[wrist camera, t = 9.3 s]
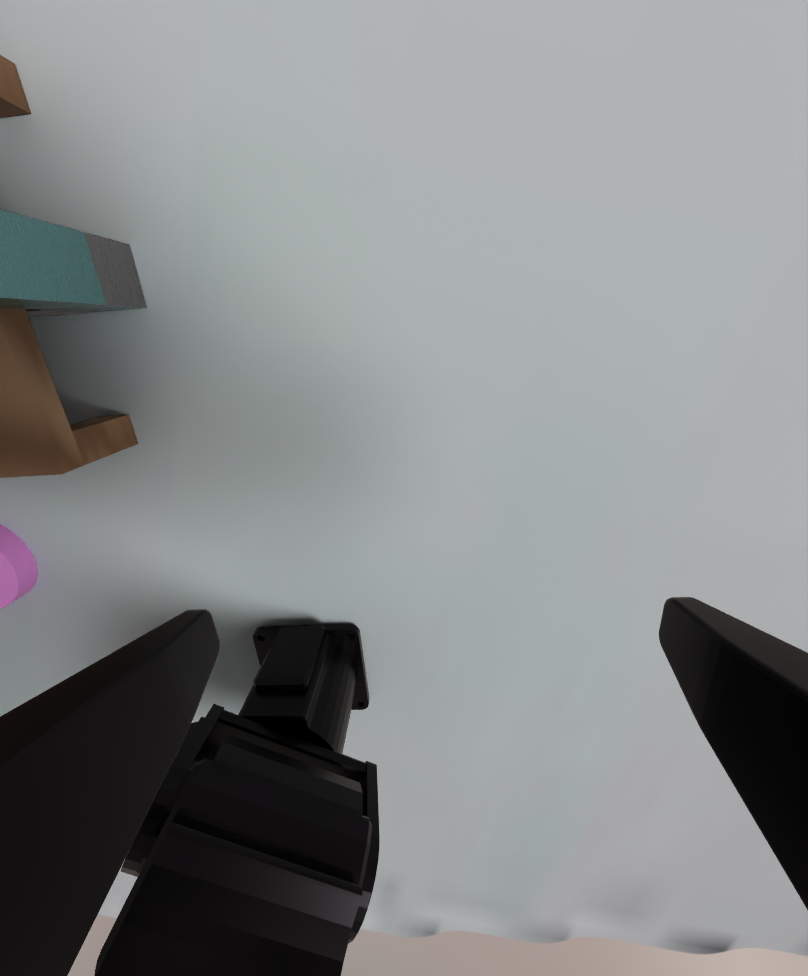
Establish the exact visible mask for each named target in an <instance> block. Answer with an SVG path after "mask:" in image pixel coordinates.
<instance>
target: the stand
mask: <svg viewBox="0 0 808 976" xmlns="http://www.w3.org/2000/svg"><path fill="white" fill-rule="evenodd" d="M25 114H31V112H30V109H29V106H28V103H27V100H26V97H25V94H24V91H23V88H22V85H21V82H20V78H19V75H18V72H17V69H16V66H15V64H14V63H12V62H11V61H9V60H8V59H6V58H4V57H3V56H1V55H0V118H2V117H10V116H17V115H25ZM136 444H138V442H137V439H136V436H135V433H134V430H133V427H132V424H131V421H130V417H129V415H118V416H103V417H98V418H94V419H90V420H87V421H83V422H79V423H76V424H72V425H69V423H68V420H67V417H66V415H65V412H64V409H63V407H62V404H61V402H60V399H59V396H58V394H57V391H56V388H55V386H54V383H53V381H52V378H51V375H50V373H49V370H48V368H47V365H46V362H45V360H44V357H43V354H42V352H41V349H40V347H39V344H38V341H37V339H36V336H35V333H34V331H33V328H32V326H31V323H30V320H29V318H28V315H27V312H26V310H25V309H20V308H0V478H1V477H19V476H38V475H56V474H63V473H66V472H68V471H71V470H73V469H76V468H78V467H81V466H83V465H86V464H88V463H91V462H93V461H96V460H98V459H101V458H103V457H106V456H108V455H111V454H113V453H116V452H118V451H121V450H123V449H126V448H128V447H131V446H133V445H136Z"/></svg>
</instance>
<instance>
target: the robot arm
mask: <svg viewBox="0 0 808 976" xmlns="http://www.w3.org/2000/svg"><path fill="white" fill-rule="evenodd" d="M349 633H353V634H354V635H350V634H349ZM261 635H263V636H261ZM659 639H660V643H661V646H662V648H663V651H664V653H665V655H666V657H667V659H668V661H669V663H670V665H671V668H672V670H673V672H674V674H675V676H676V678H677V680H678V683H679V685H680V687H681V689H682V691H683V693H684V695H685V698H686V700H687V702H688V704H689V706H690V708H691V710H692V712H693V714H694V716H695V718H696V720H697V722H698V724H699V726H700V728H701V730H702V732H703V733H704V735H705V737H706V739H707V740H708V742H709V744H710V746H711V747H712V749H713V751H714V752H715V754H716V756H717V757H718V759H719V761H720V762H721V764H722V766H723V768H724V769H725V771H726V773H727V774H728V776H729V778H730V779H731V781H732V783H733V784H734V786H735V788H736V790H737V791H738V793H739V795H740V796H741V798H742V800H743V801H744V803H745V805H746V806H747V808H748V810H749V812H750V813H751V815H752V817H753V818H754V820H755V822H756V823H757V825H758V827H759V828H760V830H761V832H762V834H763V835H764V837H765V839H766V840H767V842H768V844H769V845H770V847H771V849H772V850H773V852H774V854H775V855H776V857H777V859H778V861H779V862H780V864H781V866H782V867H783V869H784V871H785V872H786V874H787V876H788V877H789V879H790V881H791V883H792V884H793V886H794V888H795V889H796V891H797V893H798V894H799V896H800V898H801V899H802V901H803V903H804V905H805V906H806V908H807V910H808V653H807V652H805V651H803V650H801V649H799V648H797V647H794V646H792V645H790V644H788V643H786V642H784V641H782V640H780V639H778V638H776V637H774V636H772V635H770V634H767V633H765V632H763V631H761V630H759V629H757V628H755V627H753V626H751V625H749V624H747V623H745V622H743V621H741V620H738V619H736V618H734V617H732V616H730V615H728V614H726V613H724V612H722V611H720V610H718V609H716V608H714V607H711V606H709V605H707V604H705V603H703V602H701V601H699V600H697V599H695V598H692V597H672V598H669V599H667V600H666V602H665V604H664V609H663V614H662V619H661V624H660V629H659ZM253 640H254V644H255V647H256V651H257V655H258V659H259V662H260V666H261V667H260V669H259V671H258V673H257V675H256V677H255V679H254V684H253V686H252V688H251V690H250V692H249V694H248V696H247V698H246V700H245V702H244V705H243V707H242V709H241V711H240V713H239V715H236V714H234V713H231V712H228V711H225V710H224V707H221V706H218V705H216V704H214V705H213V706H212V708H211V709H210V711H209V712H208V714H207V716H206V717H205V718H204V717H201V718H200V720H199V721H198V722H195V723H191V722H192V720H193V718H194V715H195V713H196V710H197V708H198V705H199V702H200V700H201V697H202V695H203V692H204V689H205V687H206V684H207V681H208V679H209V676H210V674H211V671H212V668H213V666H214V663H215V661H216V658H217V655H218V652H219V646H220V644H219V638H218V635H217V631H216V628H215V625H214V622H213V618H212V615H211V613H210V612H209V611H208V610H187V611H185V612H183V613H181V614H180V615H178V616H176V617H174V618H173V619H171V620H169V621H167V622H166V623H164V624H162V625H160V626H159V627H157V628H155V629H153V630H152V631H150V632H148V633H146V634H145V635H143V636H141V637H139V638H138V639H136V640H134V641H132V642H131V643H129V644H127V645H125V646H124V647H122V648H120V649H118V650H117V651H115V652H113V653H111V654H109V655H108V656H106V657H104V658H102V659H101V660H99V661H97V662H95V663H94V664H92V665H90V666H88V667H87V668H85V669H83V670H81V671H80V672H78V673H76V674H74V675H73V676H71V677H69V678H67V679H66V680H64V681H62V682H60V683H59V684H57V685H55V686H53V687H52V688H50V689H48V690H46V691H45V692H43V693H41V694H39V695H38V696H36V697H34V698H32V699H31V700H29V701H27V702H25V703H24V704H22V705H20V706H18V707H17V708H15V709H13V710H11V711H10V712H8V713H6V714H4V715H2V716H1V717H0V976H67V975H68V973H69V971H70V969H71V967H72V965H73V963H74V961H75V959H76V957H77V955H78V953H79V951H80V949H81V947H82V944H83V943H84V940H85V939H86V936H87V935H88V932H89V930H90V928H91V926H92V924H93V922H94V920H95V918H96V916H97V914H98V912H99V910H100V908H101V906H102V904H103V902H104V900H105V898H106V896H107V894H108V892H109V890H110V888H111V886H112V884H113V882H114V880H115V878H116V876H117V874H118V872H119V870H120V868H121V866H122V864H123V866H122V869H121V872H124V873H128V874H131V875H134V876H136V877H138V878H137V880H136V882H135V884H134V886H133V888H132V890H131V892H130V894H129V896H128V898H127V900H126V902H125V904H124V906H123V908H122V910H121V912H120V914H119V916H118V918H117V920H116V922H115V924H114V926H113V928H112V930H111V932H110V934H109V936H108V938H107V940H106V942H105V944H104V946H103V948H102V950H101V952H100V955H99V957H98V960H97V964H96V969H95V976H341V971H342V966H343V961H344V957H345V953H346V949H347V945H348V943H350V942H351V941H353V939H354V938H355V936H356V935H357V933H358V931H359V929H360V927H361V925H362V923H363V920H364V917H365V914H366V912H367V909H368V905H369V902H370V898H371V895H372V891H373V886H374V881H375V877H376V871H377V864H378V855H379V816H378V790H377V766H376V764H373V763H370V762H368V761H366V762H365V763H364V762H362V761H359V760H356V759H354V758H351V757H348V756H346V755H343V754H342V753H343V748H344V743H345V738H346V733H347V728H348V723H349V718H350V713H351V710H362V709H366V708H367V707H368V705H369V692H368V685H367V678H366V671H365V664H364V657H363V650H362V643H361V636H360V631H359V628H358V627H356V626H354V625H319V626H273V627H259V628H257V629H256V631H255V633H254V635H253ZM362 701H363V702H362ZM129 849H130V850H129ZM128 851H129V852H128ZM127 853H128V854H127ZM124 860H125V861H124ZM123 862H124V863H123Z"/></svg>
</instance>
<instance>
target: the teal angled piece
mask: <svg viewBox="0 0 808 976" xmlns="http://www.w3.org/2000/svg"><path fill="white" fill-rule="evenodd" d="M0 308H20V309H25V310H26V312H27V315H28V318H30V317H42V316H53V315H65V314H77V313H88V312H100V311H112V310H123V309H135V308H147V306H146V303H145V299H144V295H143V292H142V288H141V285H140V281H139V277H138V274H137V270H136V267H135V263H134V259H133V256H132V252H131V249H130V245H129V244H125V243H121V242H118V241H114V240H110V239H107V238H103V237H99V236H96V235H92V234H88V233H85V232H81V231H78V230H74V229H70V228H67V227H63V226H59V225H56V224H52V223H48V222H45V221H41V220H37V219H34V218H30V217H26V216H23V215H19V214H15V213H12V212H8V211H4V210H1V209H0Z"/></svg>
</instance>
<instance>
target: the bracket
mask: <svg viewBox="0 0 808 976" xmlns="http://www.w3.org/2000/svg"><path fill="white" fill-rule="evenodd" d="M36 580H37V565H36V562H35V559H34V557H33V555H32V553H31V551H30V550H29V548H28V547H27V546H26V544H25V543H24V542H23V541H22V540H21V539H20V538H19V537H18V536H17V535H16V534H14V533H13V532H12V531H10V530H9V529H8V528H6V527H4V526H3V525H1V524H0V609H1V608H4V607H6V606H7V605H9V604H10V603H12V602H13V601H15V600H16V599H18V598H20V597H21V596H23V595H24V594H26V593H27V592H28V591H30V590H31V589H32V588H33V586H34V585H35V583H36Z"/></svg>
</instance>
